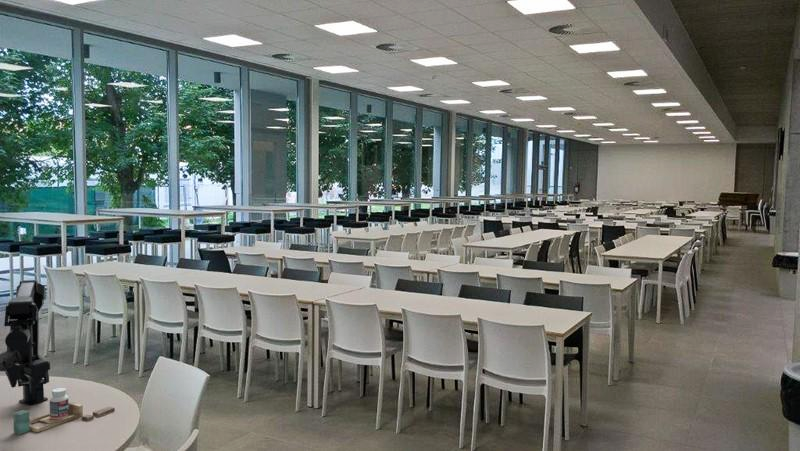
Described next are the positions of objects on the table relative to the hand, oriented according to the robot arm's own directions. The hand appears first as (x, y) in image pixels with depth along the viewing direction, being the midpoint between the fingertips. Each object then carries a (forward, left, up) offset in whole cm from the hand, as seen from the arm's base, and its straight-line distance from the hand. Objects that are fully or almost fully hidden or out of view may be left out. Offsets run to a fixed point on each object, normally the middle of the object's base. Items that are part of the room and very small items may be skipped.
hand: (23, 389), depth 195 cm
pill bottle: (+4, +9, -11) cm, 15 cm away
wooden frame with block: (+4, +5, -11) cm, 13 cm away
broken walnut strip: (+12, +17, -11) cm, 24 cm away
